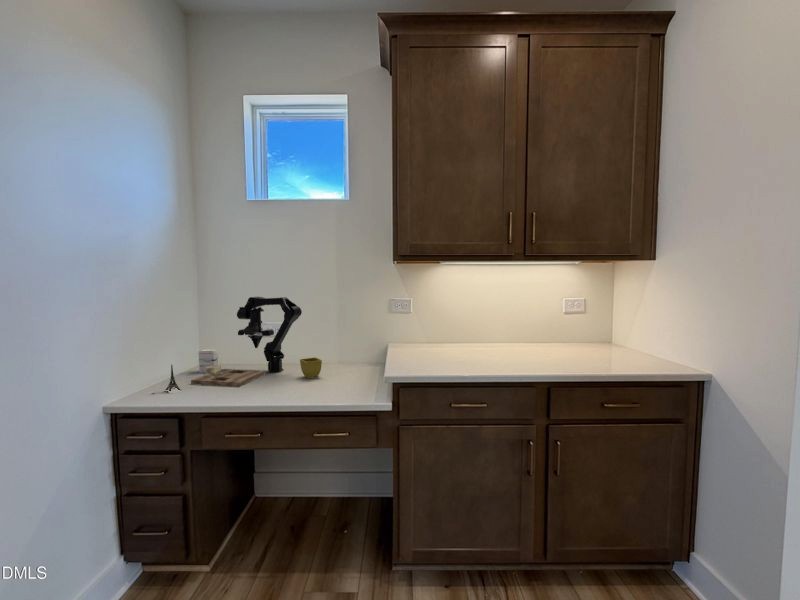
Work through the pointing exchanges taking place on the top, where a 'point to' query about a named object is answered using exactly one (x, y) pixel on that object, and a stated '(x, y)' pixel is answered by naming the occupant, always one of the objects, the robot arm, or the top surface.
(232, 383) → the board
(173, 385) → the eiffel tower figurine
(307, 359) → the flower pot
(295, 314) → the robot arm
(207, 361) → the ink box
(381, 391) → the top surface
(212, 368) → the maple block
